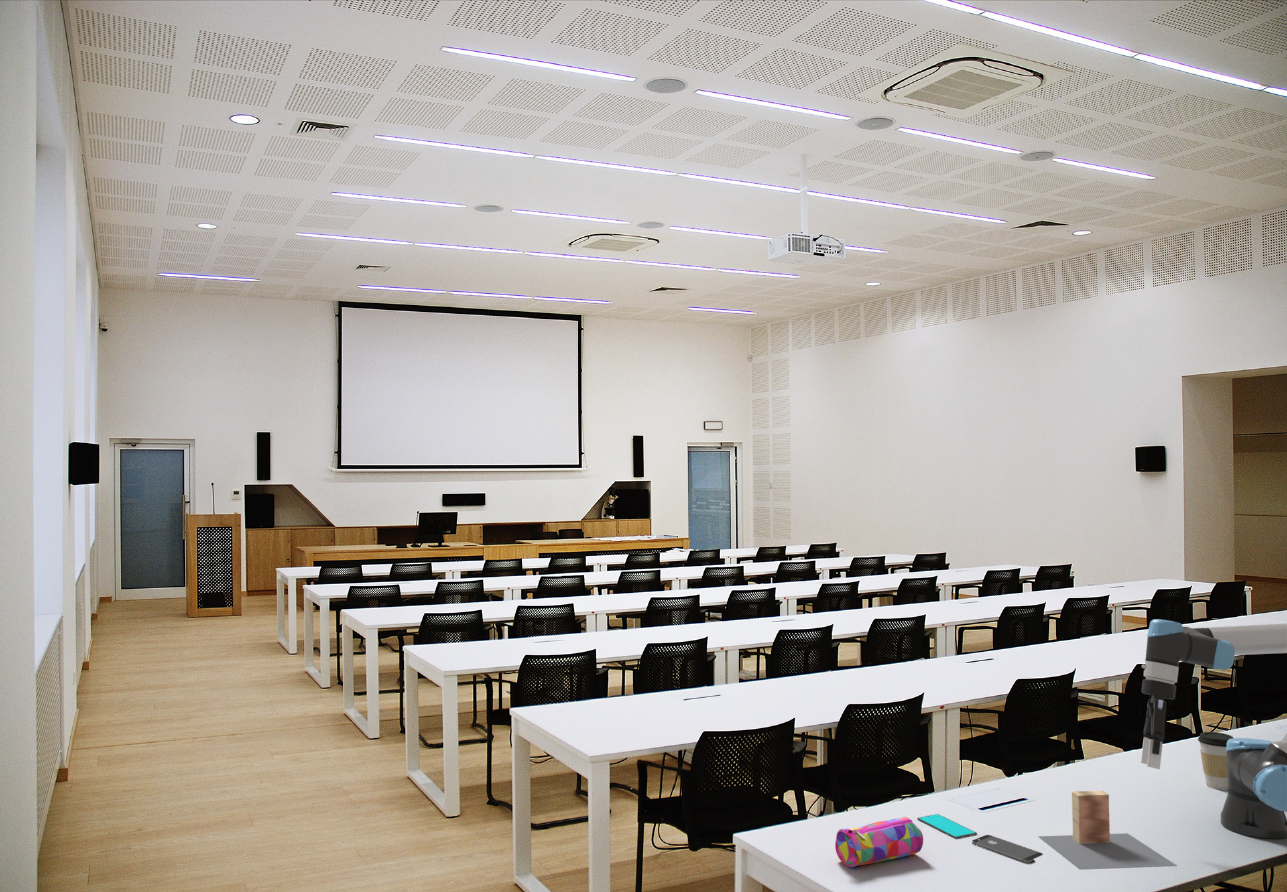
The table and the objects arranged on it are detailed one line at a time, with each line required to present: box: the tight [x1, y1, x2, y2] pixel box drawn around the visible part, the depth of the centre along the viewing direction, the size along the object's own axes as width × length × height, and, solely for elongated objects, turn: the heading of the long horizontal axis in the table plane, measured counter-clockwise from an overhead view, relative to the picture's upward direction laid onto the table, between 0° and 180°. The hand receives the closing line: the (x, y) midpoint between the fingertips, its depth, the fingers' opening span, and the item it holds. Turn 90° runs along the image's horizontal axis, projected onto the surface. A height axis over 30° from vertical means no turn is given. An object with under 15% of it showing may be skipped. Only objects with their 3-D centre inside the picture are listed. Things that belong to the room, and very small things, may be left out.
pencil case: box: [835, 816, 924, 869], centre depth 226 cm, size 22×9×9 cm, turn 115°
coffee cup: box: [1197, 731, 1234, 791], centre depth 276 cm, size 10×10×15 cm
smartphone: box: [916, 813, 978, 840], centre depth 246 cm, size 7×1×15 cm
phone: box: [971, 834, 1044, 865], centre depth 231 cm, size 8×1×16 cm
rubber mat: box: [1037, 832, 1178, 870], centre depth 228 cm, size 24×20×1 cm
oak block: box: [1071, 790, 1111, 844], centre depth 234 cm, size 8×3×12 cm, turn 94°
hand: (1150, 766), depth 232 cm, fingers open, 13 cm apart
